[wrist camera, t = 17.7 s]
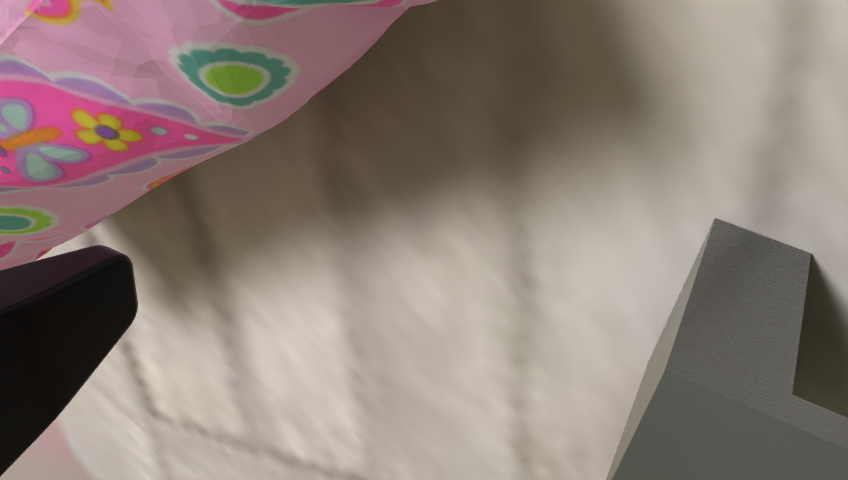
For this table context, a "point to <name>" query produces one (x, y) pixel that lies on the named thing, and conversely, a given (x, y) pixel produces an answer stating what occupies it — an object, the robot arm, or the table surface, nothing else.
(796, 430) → the grey arch block
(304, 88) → the pencil case
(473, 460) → the table surface
